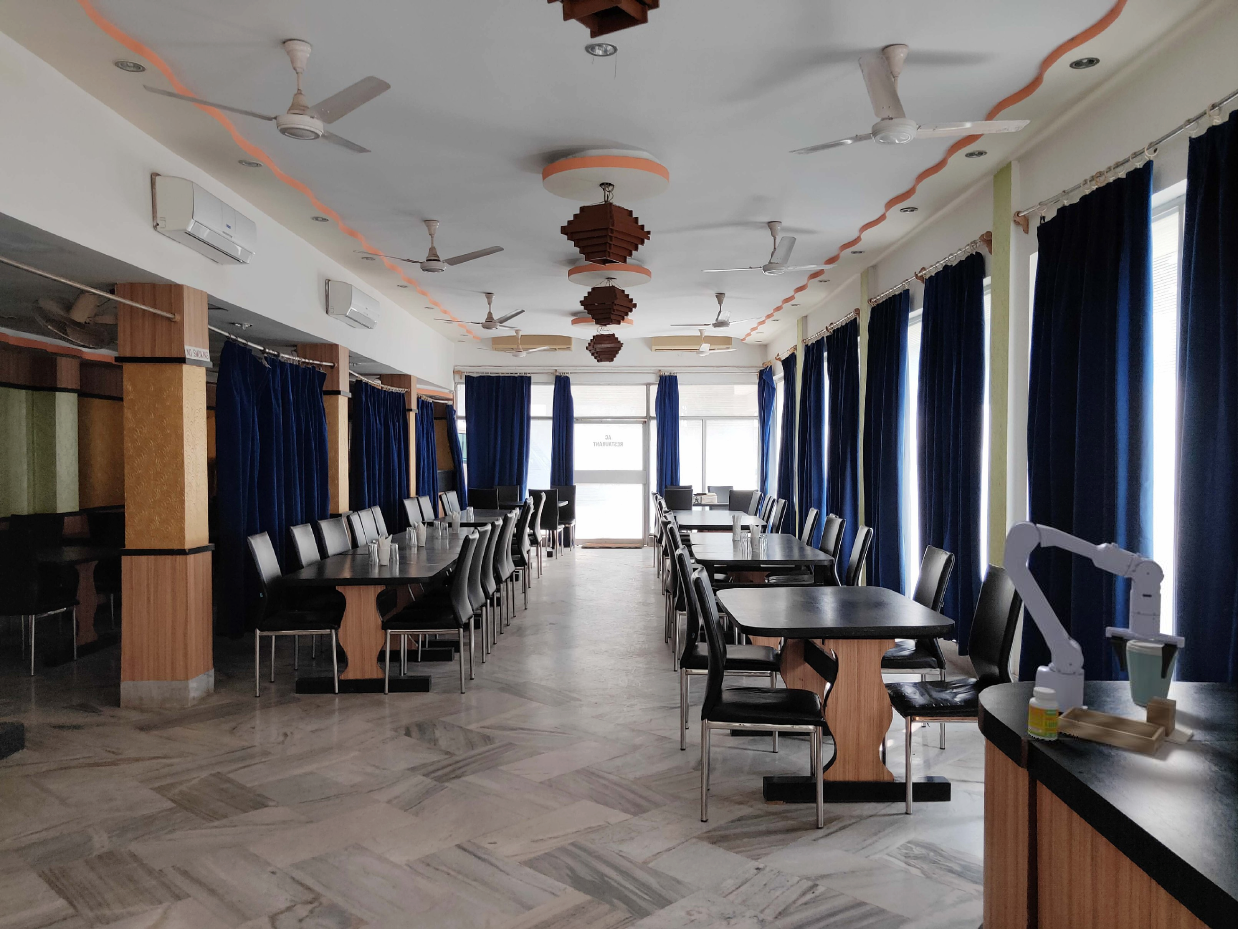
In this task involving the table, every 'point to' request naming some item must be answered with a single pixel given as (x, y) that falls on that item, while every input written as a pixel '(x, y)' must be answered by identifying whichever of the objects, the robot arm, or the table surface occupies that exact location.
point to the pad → (1177, 735)
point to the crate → (1112, 730)
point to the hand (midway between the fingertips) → (1143, 674)
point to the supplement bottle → (1043, 714)
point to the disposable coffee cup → (1147, 671)
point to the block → (1162, 713)
